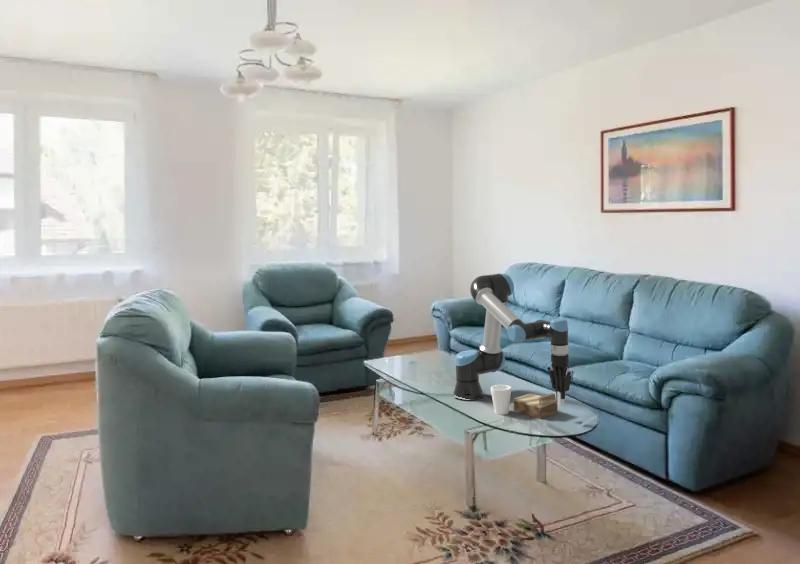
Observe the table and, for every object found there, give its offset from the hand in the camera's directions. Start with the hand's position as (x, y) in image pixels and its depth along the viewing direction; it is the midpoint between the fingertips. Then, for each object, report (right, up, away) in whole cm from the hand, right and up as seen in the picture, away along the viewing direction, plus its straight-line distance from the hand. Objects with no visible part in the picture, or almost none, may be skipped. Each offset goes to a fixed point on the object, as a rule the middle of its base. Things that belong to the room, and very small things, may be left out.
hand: (560, 405), depth 268 cm
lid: (-9, -1, +12) cm, 15 cm away
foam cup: (-24, -7, +15) cm, 29 cm away
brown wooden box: (-8, -7, +13) cm, 17 cm away
